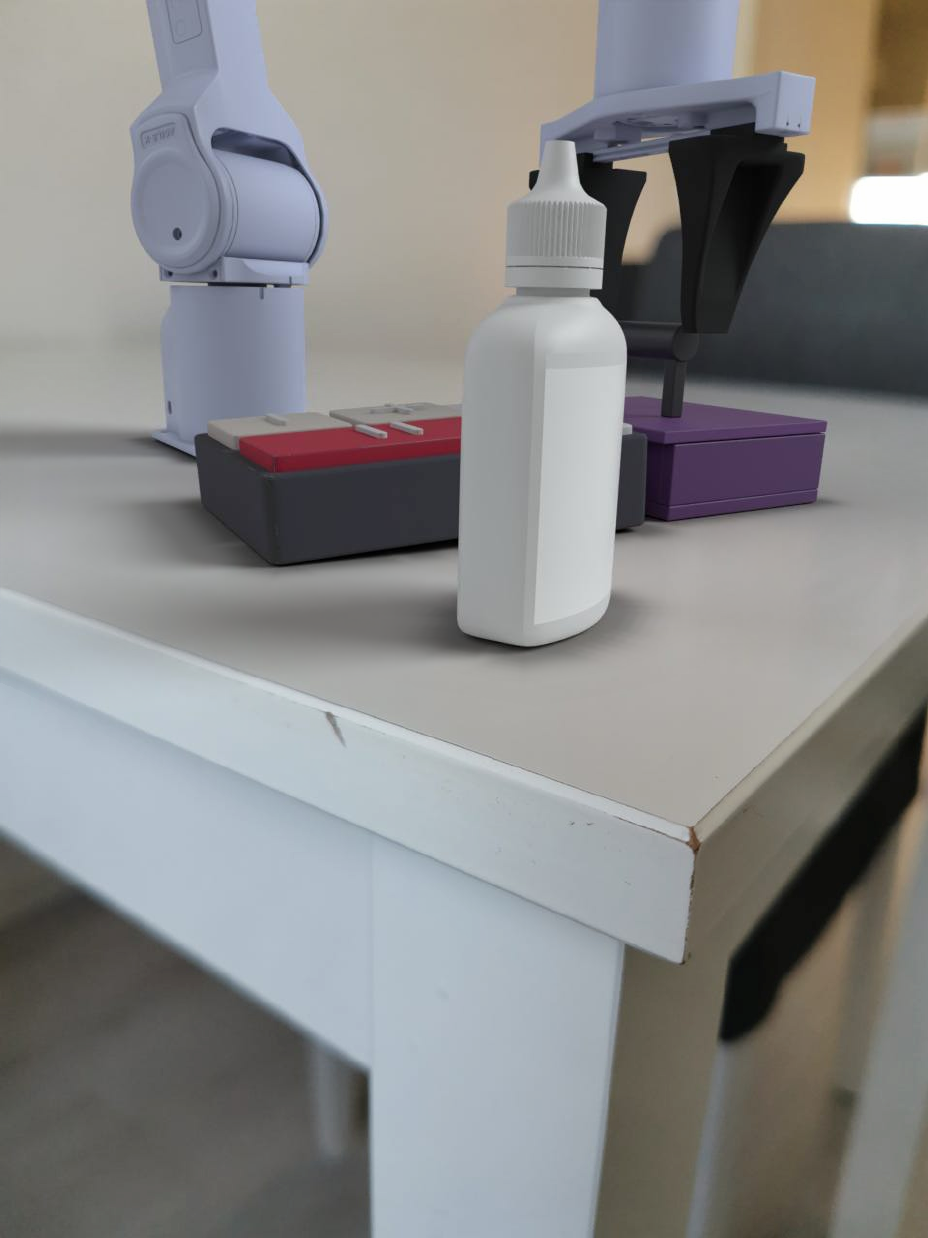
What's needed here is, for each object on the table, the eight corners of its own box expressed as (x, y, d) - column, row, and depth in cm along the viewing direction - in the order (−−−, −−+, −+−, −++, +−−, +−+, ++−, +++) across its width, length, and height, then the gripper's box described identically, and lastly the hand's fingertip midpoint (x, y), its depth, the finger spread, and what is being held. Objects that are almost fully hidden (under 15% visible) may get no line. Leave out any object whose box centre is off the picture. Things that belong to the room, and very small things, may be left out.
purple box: (667, 521, 40) (674, 444, 39) (499, 474, 50) (502, 412, 49) (817, 501, 44) (826, 433, 43) (636, 463, 54) (641, 406, 53)
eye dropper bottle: (667, 626, 27) (711, 143, 23) (493, 659, 24) (512, 116, 20) (570, 586, 30) (596, 162, 26) (410, 610, 27) (413, 141, 24)
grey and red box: (188, 414, 40) (511, 388, 46) (200, 518, 41) (512, 479, 47) (260, 453, 30) (654, 413, 36) (272, 585, 32) (649, 525, 38)
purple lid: (663, 444, 38) (673, 325, 37) (492, 412, 48) (495, 317, 47) (826, 432, 43) (840, 326, 42) (641, 405, 53) (647, 319, 52)
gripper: (886, -46, 36) (835, 336, 40) (626, 36, 48) (608, 325, 52) (754, -88, 33) (713, 336, 37) (507, 11, 44) (498, 324, 48)
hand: (644, 330), depth 44 cm, fingers open, 7 cm apart
